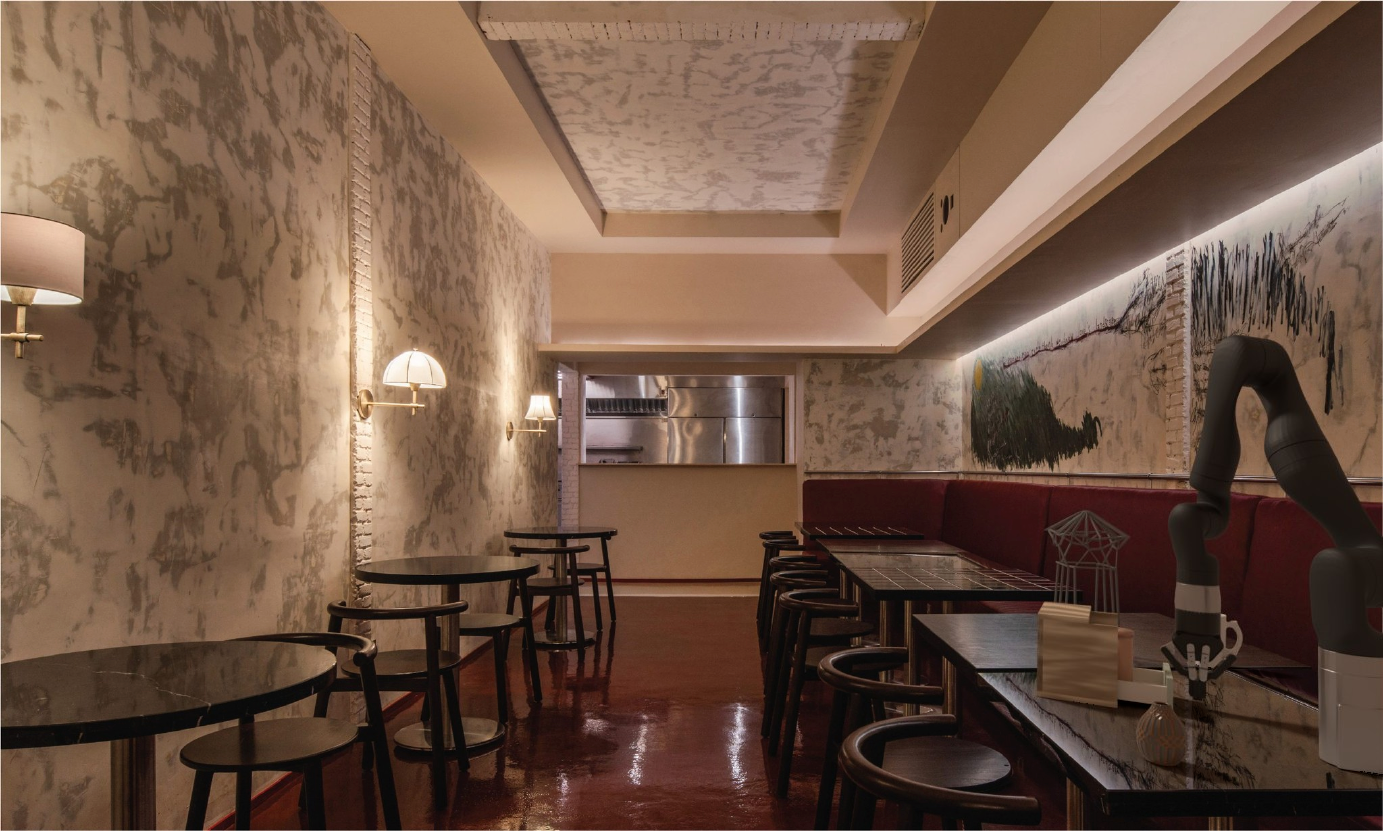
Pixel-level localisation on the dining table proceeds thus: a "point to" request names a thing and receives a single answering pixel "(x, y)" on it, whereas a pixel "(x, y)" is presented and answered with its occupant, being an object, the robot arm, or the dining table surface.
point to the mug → (1223, 637)
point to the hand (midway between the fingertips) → (1197, 699)
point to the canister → (1125, 654)
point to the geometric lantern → (1103, 524)
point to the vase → (1162, 735)
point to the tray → (1148, 686)
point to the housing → (1077, 654)
